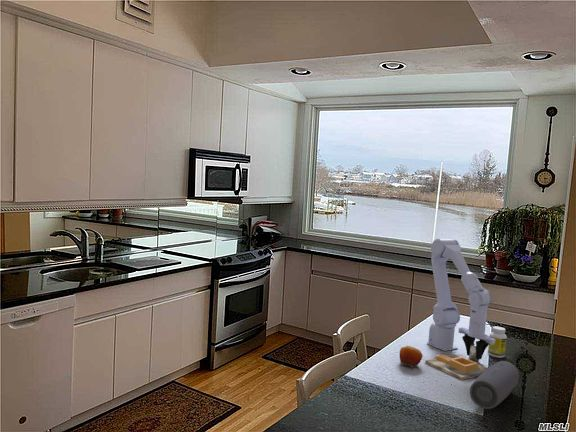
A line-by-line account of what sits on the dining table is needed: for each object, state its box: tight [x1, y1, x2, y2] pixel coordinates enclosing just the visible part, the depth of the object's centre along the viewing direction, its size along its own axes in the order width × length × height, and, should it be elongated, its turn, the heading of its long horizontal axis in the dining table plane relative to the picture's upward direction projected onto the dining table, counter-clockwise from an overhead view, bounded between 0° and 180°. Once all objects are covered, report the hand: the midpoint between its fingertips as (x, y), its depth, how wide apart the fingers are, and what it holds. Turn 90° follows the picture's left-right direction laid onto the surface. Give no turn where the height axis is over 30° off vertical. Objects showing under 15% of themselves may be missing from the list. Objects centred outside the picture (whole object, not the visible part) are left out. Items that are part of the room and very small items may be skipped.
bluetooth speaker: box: [469, 360, 520, 410], centre depth 147 cm, size 23×9×10 cm, turn 141°
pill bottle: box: [487, 325, 507, 359], centre depth 187 cm, size 6×6×11 cm
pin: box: [468, 343, 480, 363], centre depth 180 cm, size 4×4×6 cm
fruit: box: [399, 345, 424, 370], centre depth 171 cm, size 8×8×8 cm
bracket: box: [435, 353, 479, 373], centre depth 172 cm, size 14×7×3 cm, turn 33°
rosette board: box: [424, 353, 488, 381], centre depth 172 cm, size 17×16×1 cm
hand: (474, 356), depth 180 cm, fingers closed on pin, 4 cm apart
